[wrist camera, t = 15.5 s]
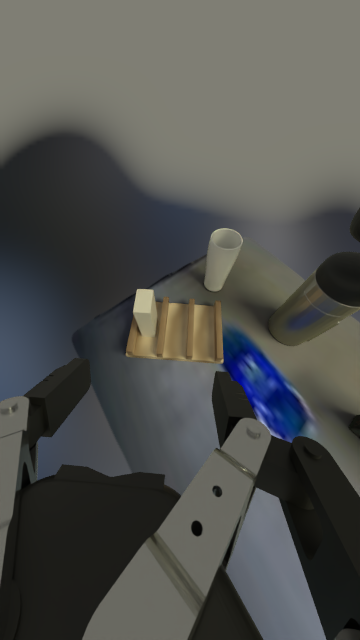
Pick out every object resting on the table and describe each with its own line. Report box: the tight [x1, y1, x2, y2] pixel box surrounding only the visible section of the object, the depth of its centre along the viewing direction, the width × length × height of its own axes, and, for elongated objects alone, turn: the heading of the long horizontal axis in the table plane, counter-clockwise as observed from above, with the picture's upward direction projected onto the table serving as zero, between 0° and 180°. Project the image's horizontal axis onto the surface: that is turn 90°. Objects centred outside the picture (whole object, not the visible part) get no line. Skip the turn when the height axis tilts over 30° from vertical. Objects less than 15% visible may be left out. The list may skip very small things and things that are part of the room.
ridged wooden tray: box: [126, 297, 223, 364], centre depth 42 cm, size 21×14×4 cm, turn 86°
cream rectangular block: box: [133, 289, 158, 337], centre depth 38 cm, size 3×5×11 cm, turn 178°
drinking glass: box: [204, 228, 243, 292], centre depth 45 cm, size 7×7×15 cm
